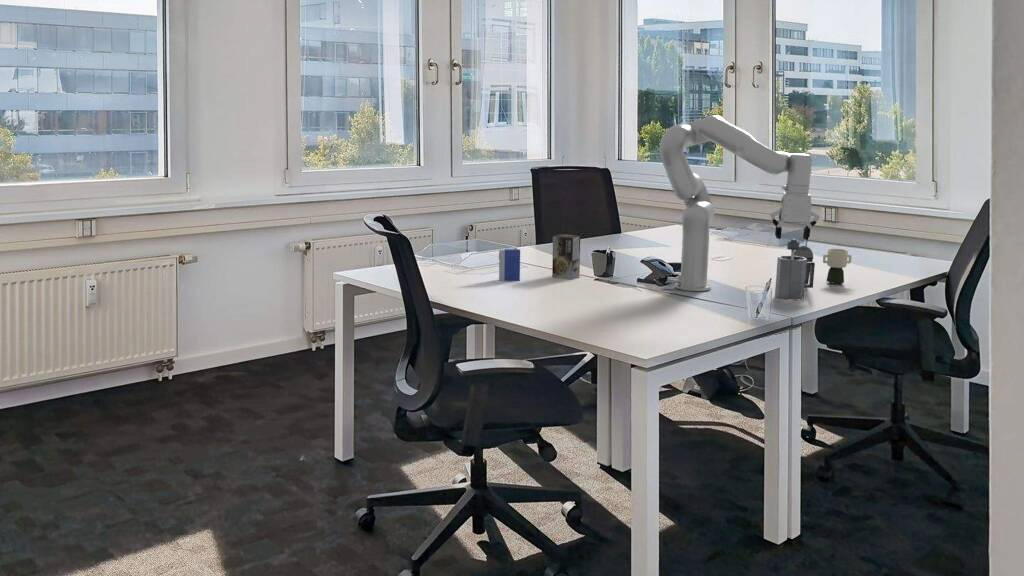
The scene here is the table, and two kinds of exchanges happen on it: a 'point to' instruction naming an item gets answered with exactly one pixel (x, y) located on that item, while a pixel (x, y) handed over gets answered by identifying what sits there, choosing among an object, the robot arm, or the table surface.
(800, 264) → the carafe
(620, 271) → the table surface
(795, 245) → the plunger
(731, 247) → the table surface
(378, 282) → the table surface
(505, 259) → the walkman
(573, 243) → the coffee box
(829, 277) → the character mug
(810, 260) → the beverage cup
